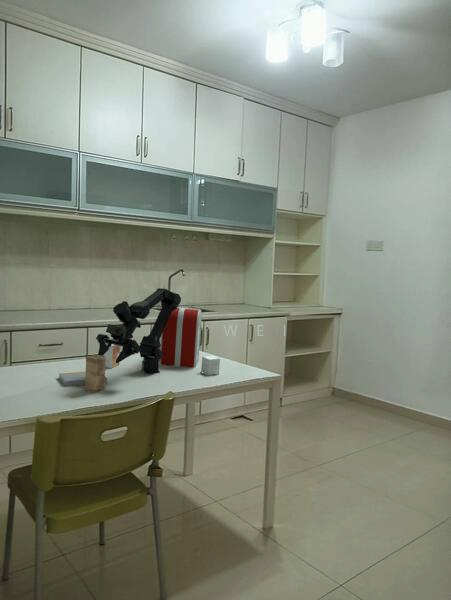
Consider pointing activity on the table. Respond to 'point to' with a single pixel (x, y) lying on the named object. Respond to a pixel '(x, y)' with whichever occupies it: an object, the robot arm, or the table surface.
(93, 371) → the brown block
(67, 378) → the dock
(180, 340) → the red striped box
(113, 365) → the small box
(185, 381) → the table surface
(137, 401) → the table surface
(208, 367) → the product box
